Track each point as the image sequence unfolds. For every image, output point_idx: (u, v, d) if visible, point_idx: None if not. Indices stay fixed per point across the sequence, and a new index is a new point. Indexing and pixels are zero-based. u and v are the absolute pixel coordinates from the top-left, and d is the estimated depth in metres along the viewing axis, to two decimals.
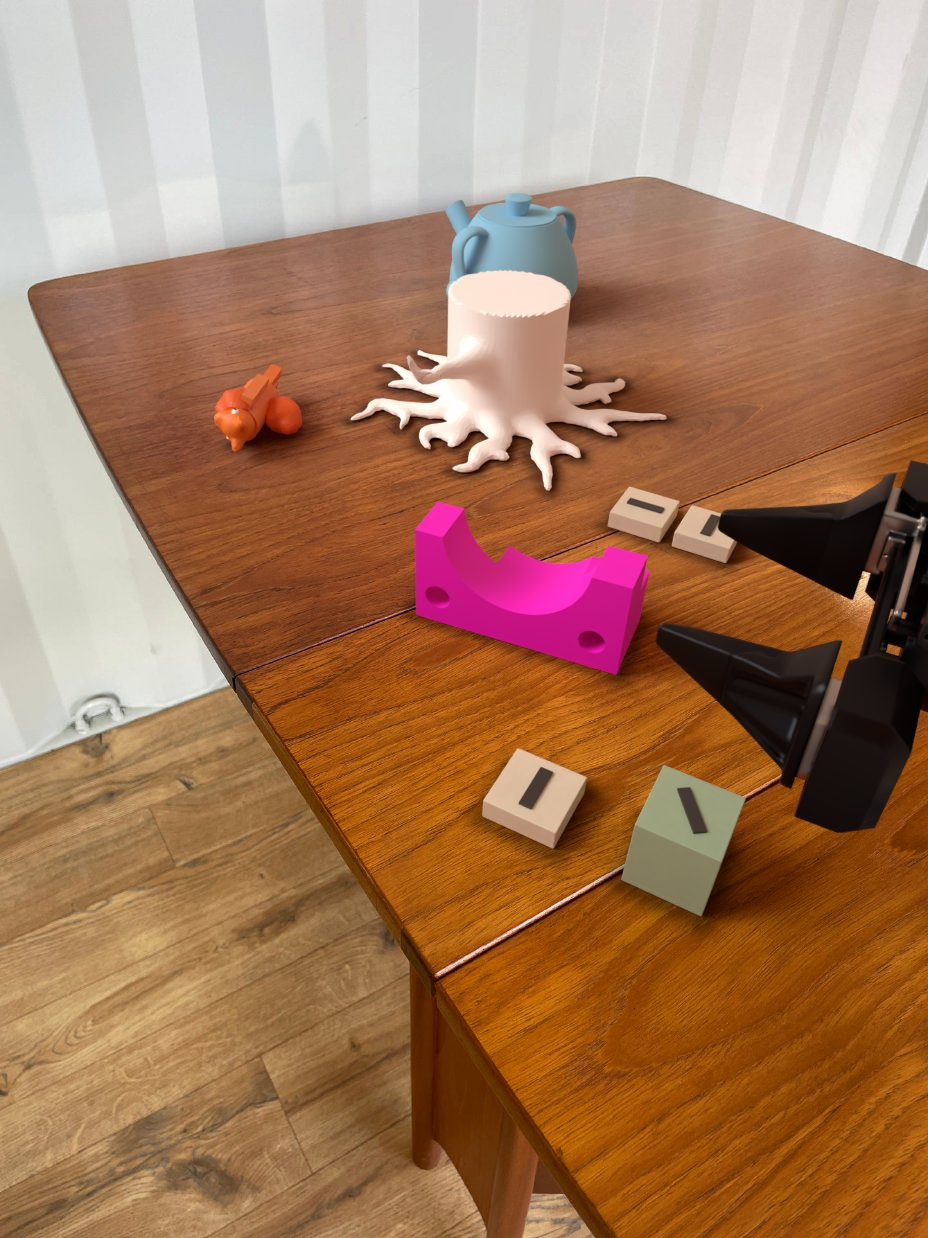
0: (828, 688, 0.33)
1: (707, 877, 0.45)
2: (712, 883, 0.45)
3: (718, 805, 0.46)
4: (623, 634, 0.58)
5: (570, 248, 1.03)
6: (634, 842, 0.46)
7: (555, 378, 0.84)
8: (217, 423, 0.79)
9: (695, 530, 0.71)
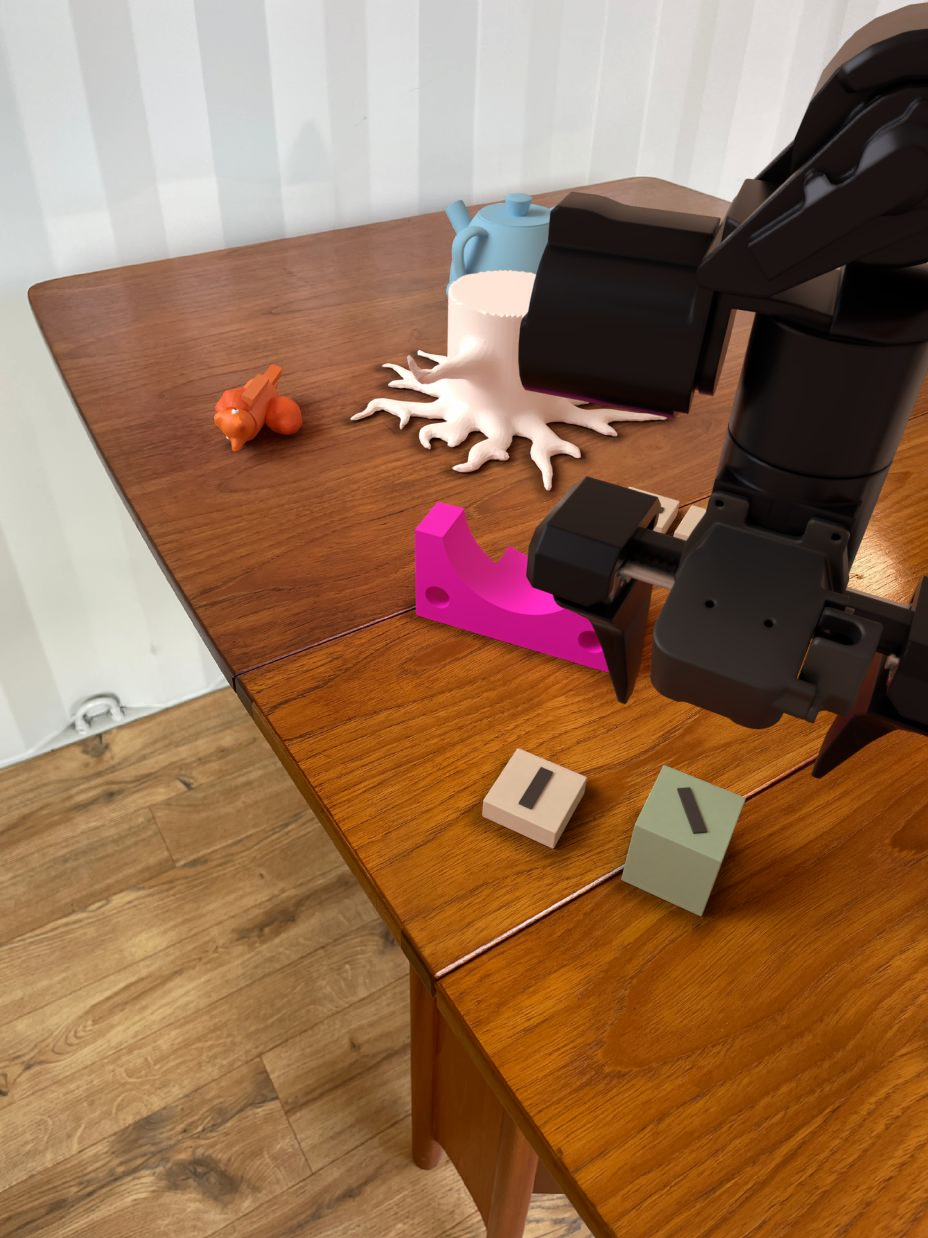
0: None
1: (707, 877, 0.45)
2: (712, 883, 0.45)
3: (718, 805, 0.46)
4: None
5: None
6: (634, 842, 0.46)
7: None
8: (217, 423, 0.79)
9: None
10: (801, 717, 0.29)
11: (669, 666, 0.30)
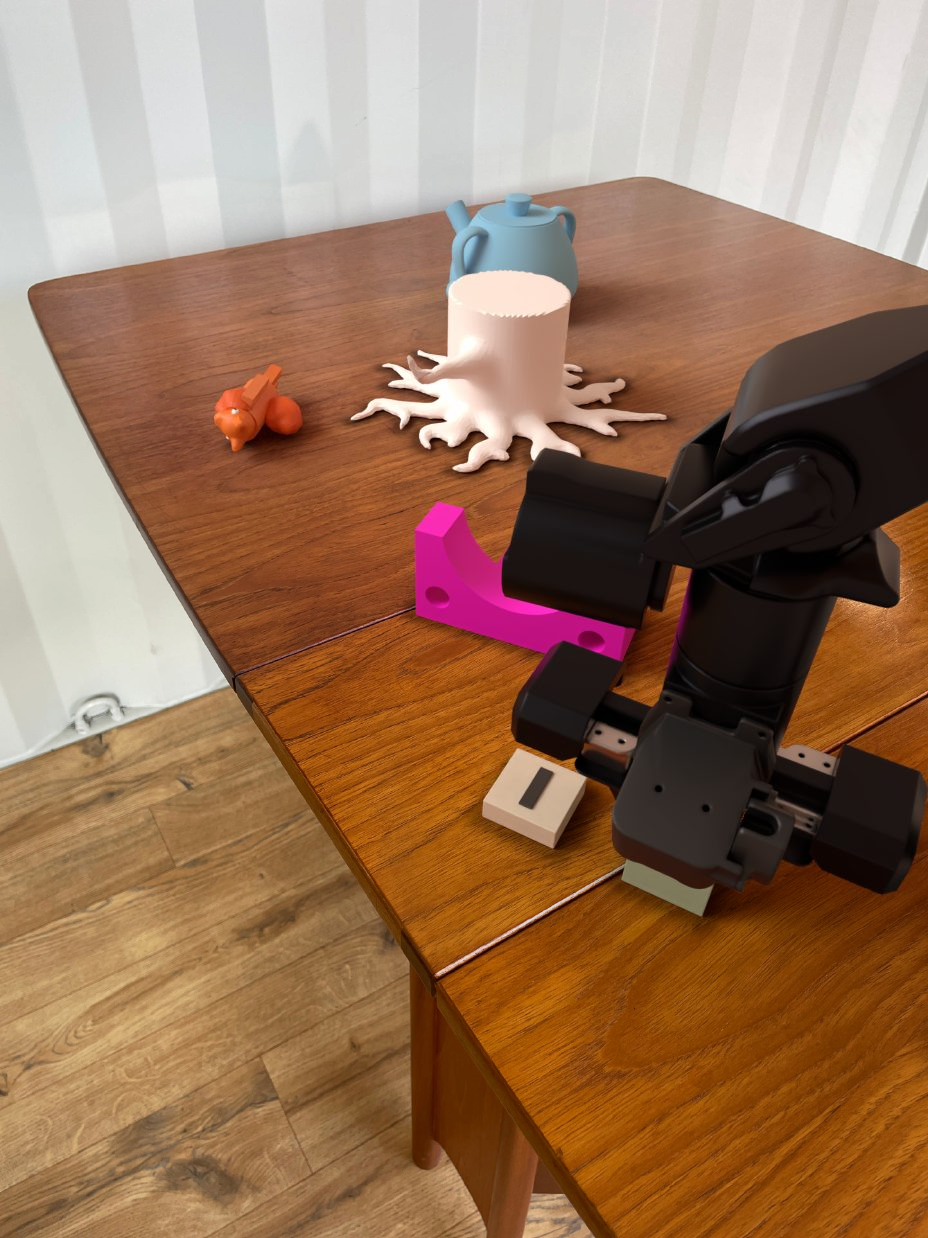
0: None
1: None
2: None
3: None
4: (623, 634, 0.58)
5: (570, 248, 1.03)
6: None
7: (555, 378, 0.84)
8: (217, 423, 0.79)
9: None
10: (731, 888, 0.35)
11: (625, 841, 0.36)
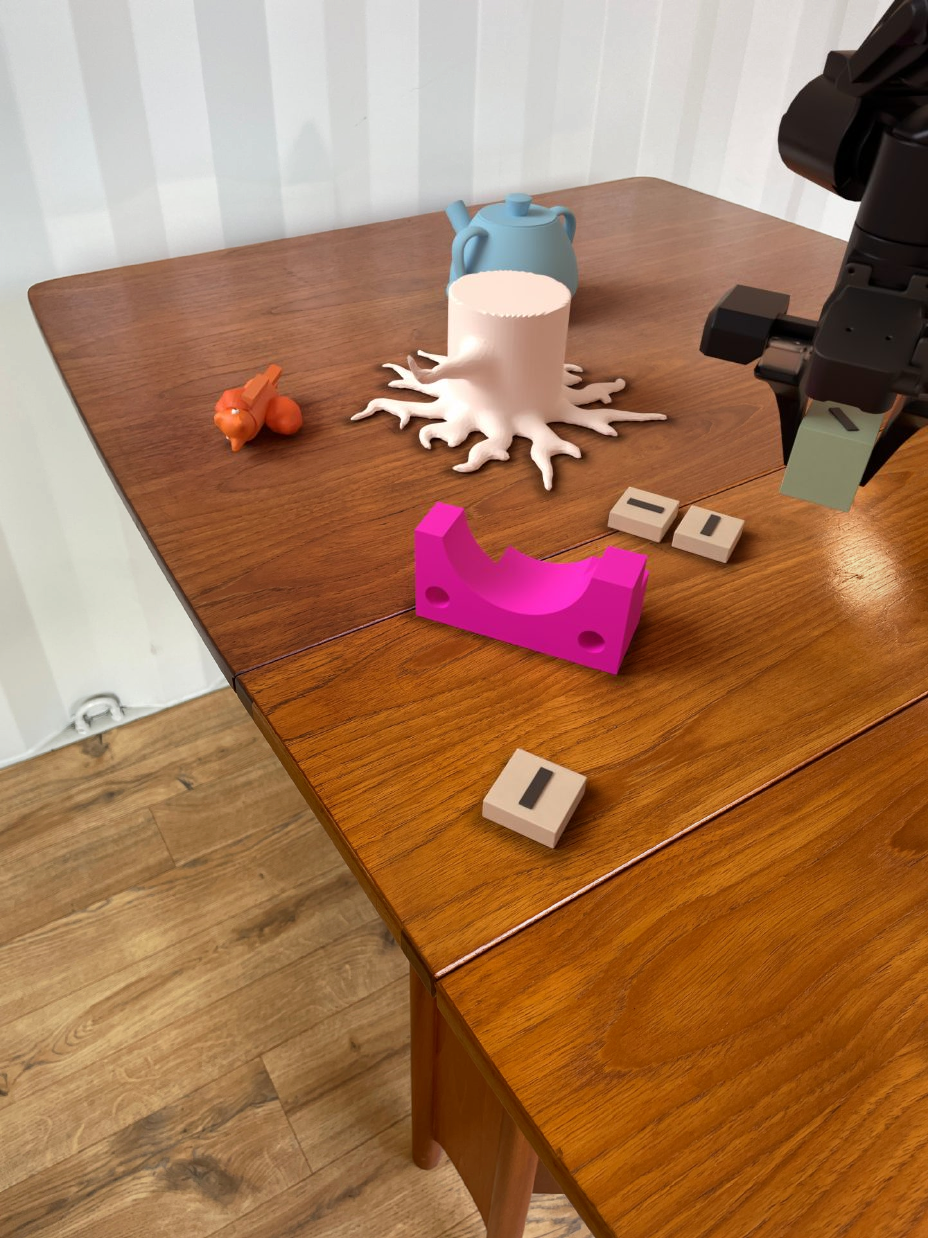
0: (926, 401, 0.52)
1: (858, 466, 0.55)
2: (862, 471, 0.55)
3: (863, 417, 0.57)
4: (623, 634, 0.58)
5: (570, 248, 1.03)
6: (796, 446, 0.56)
7: (555, 378, 0.84)
8: (217, 423, 0.79)
9: (695, 530, 0.71)
10: (910, 393, 0.46)
11: (823, 368, 0.47)
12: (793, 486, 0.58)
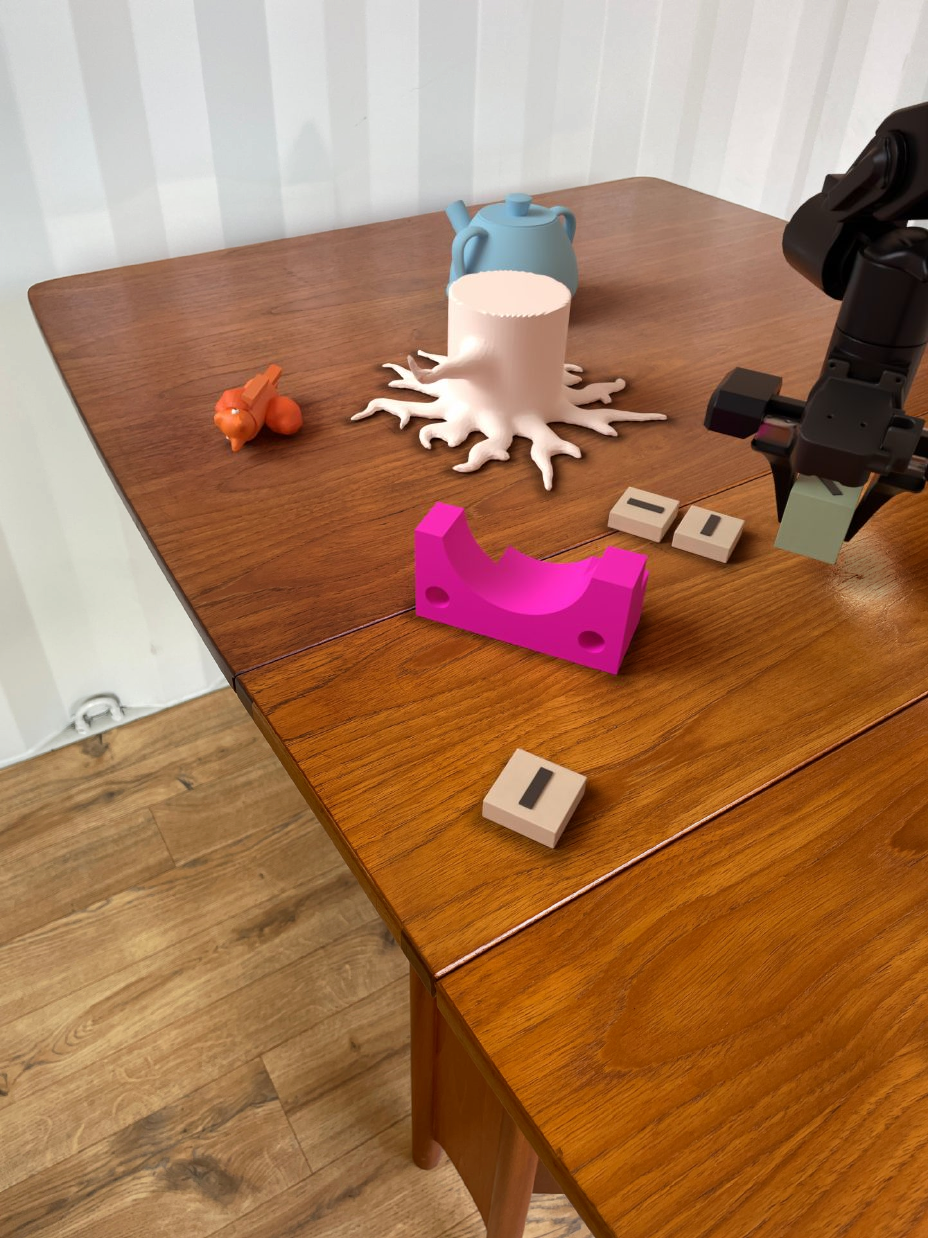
0: (899, 473, 0.60)
1: (842, 525, 0.64)
2: (846, 530, 0.64)
3: None
4: (623, 634, 0.58)
5: (570, 248, 1.03)
6: (788, 507, 0.65)
7: (555, 378, 0.84)
8: (217, 423, 0.79)
9: (695, 530, 0.71)
10: (881, 472, 0.54)
11: (808, 449, 0.55)
12: (786, 541, 0.66)
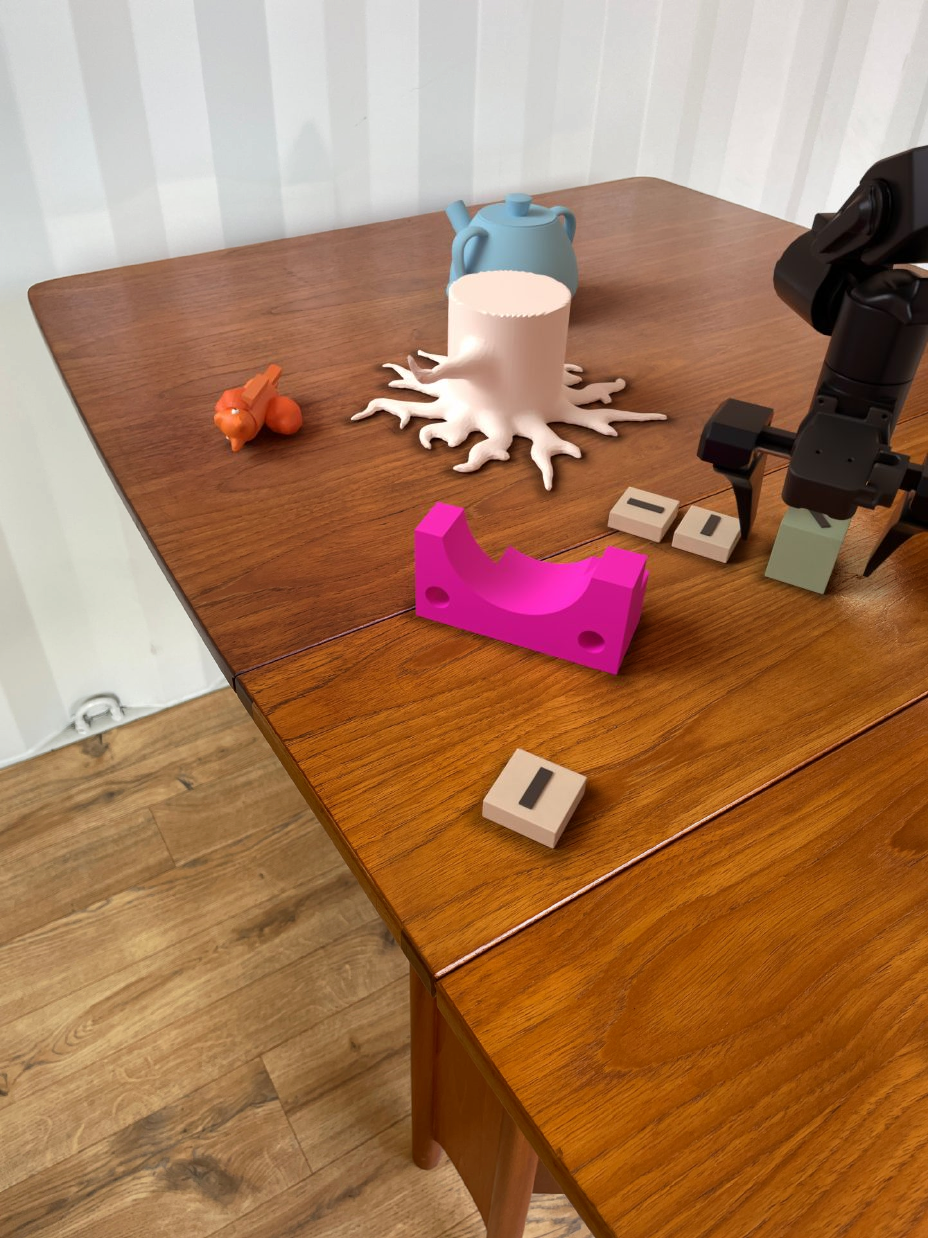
0: None
1: (831, 557, 0.65)
2: (834, 561, 0.65)
3: None
4: (623, 634, 0.58)
5: (570, 248, 1.03)
6: (778, 539, 0.67)
7: (555, 378, 0.84)
8: (217, 423, 0.79)
9: (695, 530, 0.71)
10: (867, 506, 0.56)
11: (797, 484, 0.57)
12: (776, 571, 0.68)
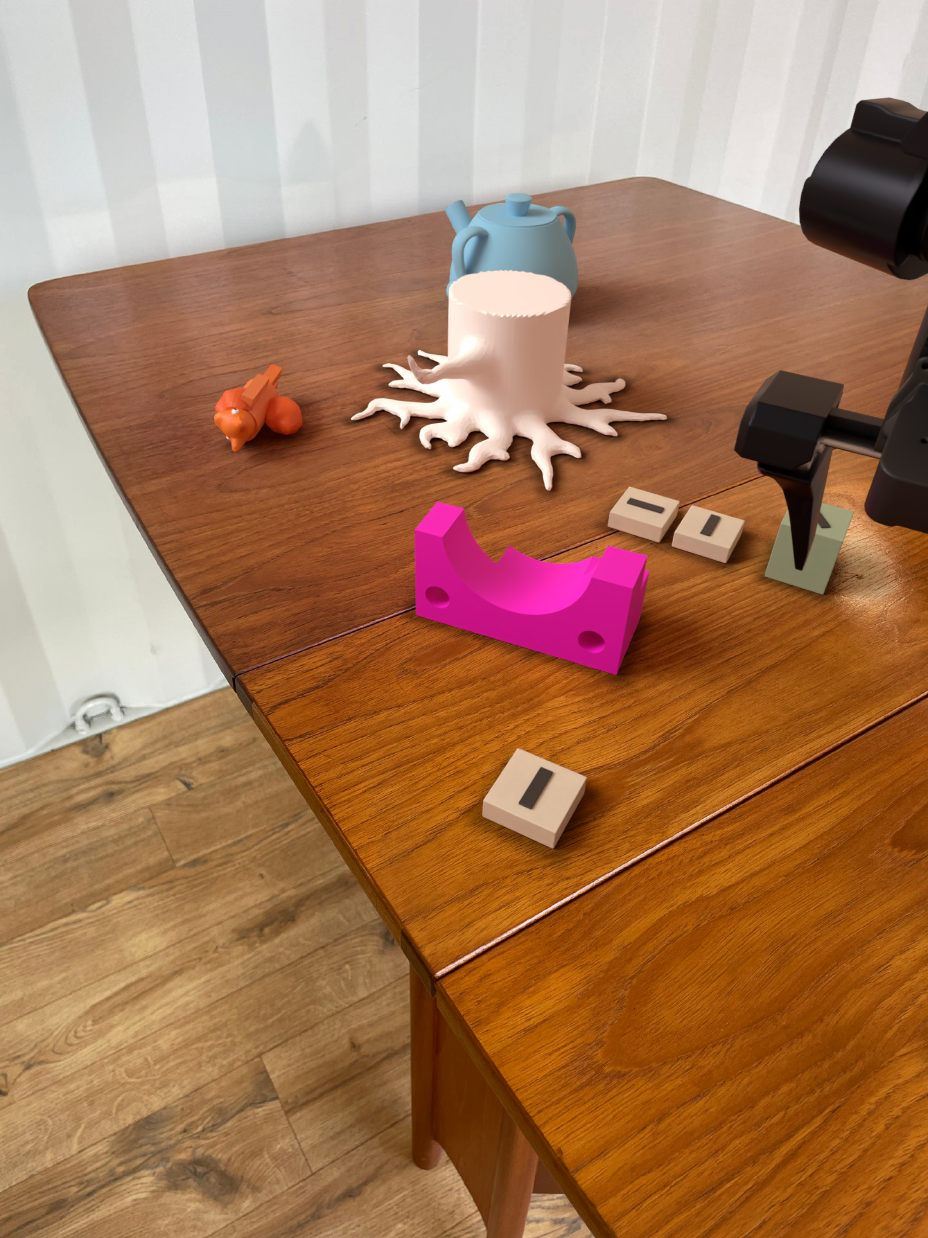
0: None
1: (830, 557, 0.65)
2: (834, 562, 0.66)
3: (836, 514, 0.67)
4: (623, 634, 0.58)
5: (570, 248, 1.03)
6: (778, 539, 0.67)
7: (555, 378, 0.84)
8: (217, 423, 0.79)
9: (695, 530, 0.71)
10: None
11: (893, 489, 0.38)
12: (776, 571, 0.68)
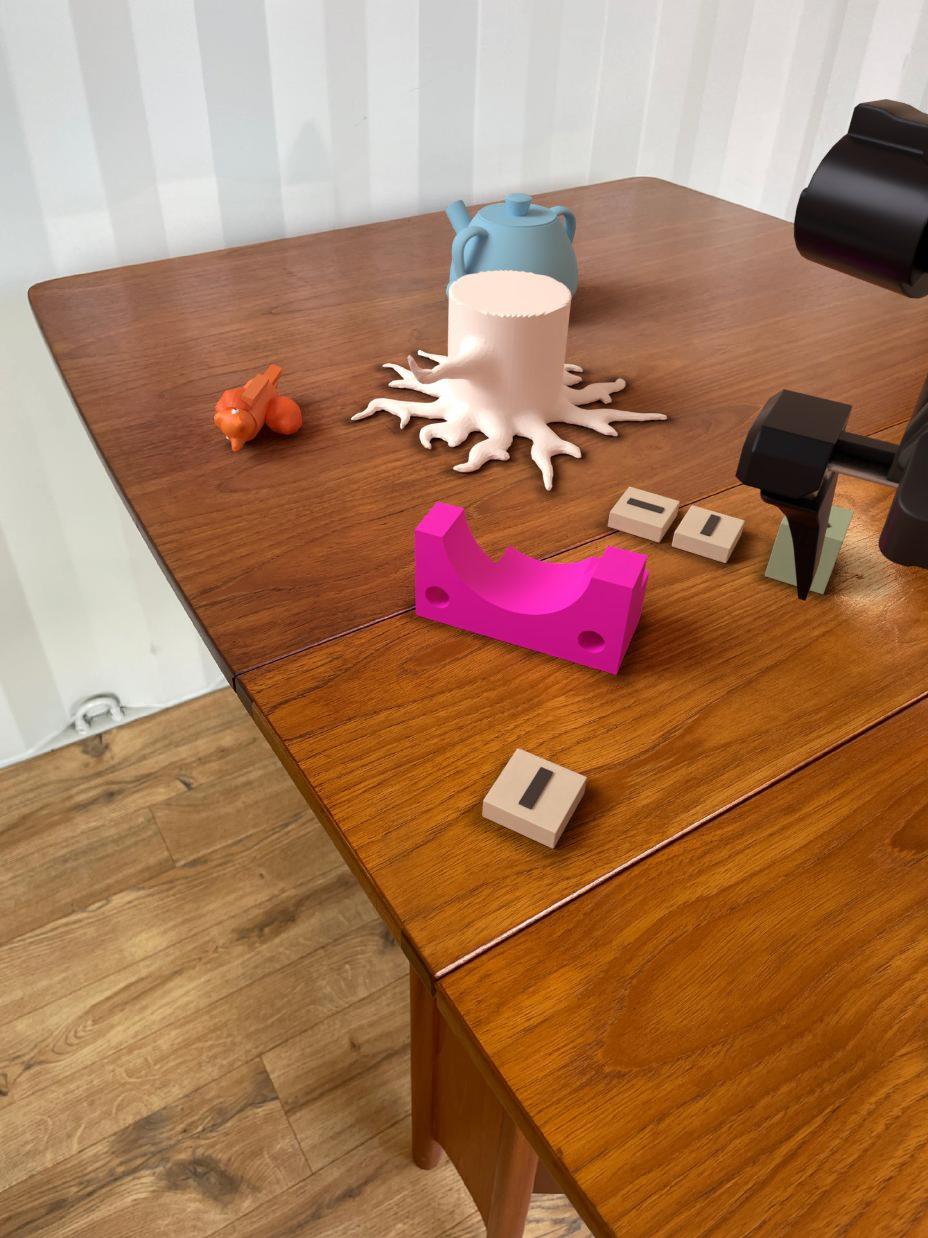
0: None
1: (831, 557, 0.65)
2: (834, 561, 0.65)
3: (836, 514, 0.67)
4: (623, 634, 0.58)
5: (570, 248, 1.03)
6: (778, 539, 0.67)
7: (555, 378, 0.84)
8: (217, 423, 0.79)
9: (695, 530, 0.71)
10: None
11: (912, 529, 0.35)
12: (776, 571, 0.68)
